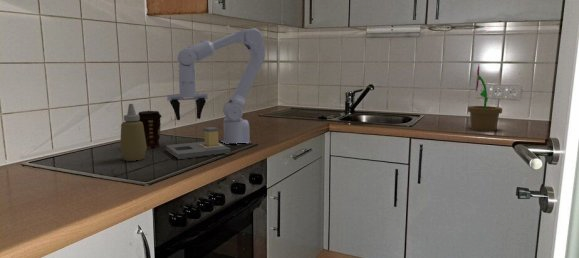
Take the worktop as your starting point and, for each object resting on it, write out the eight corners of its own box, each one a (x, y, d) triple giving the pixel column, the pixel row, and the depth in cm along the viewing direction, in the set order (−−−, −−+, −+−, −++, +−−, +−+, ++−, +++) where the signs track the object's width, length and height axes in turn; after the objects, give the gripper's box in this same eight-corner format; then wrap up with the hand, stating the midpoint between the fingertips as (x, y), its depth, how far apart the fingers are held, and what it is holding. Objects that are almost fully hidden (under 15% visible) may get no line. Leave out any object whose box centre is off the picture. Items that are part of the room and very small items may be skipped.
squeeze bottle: (150, 156, 139) (147, 102, 136) (143, 162, 131) (139, 105, 128) (126, 156, 139) (122, 102, 136) (117, 162, 131) (113, 105, 128)
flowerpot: (467, 126, 203) (471, 63, 198) (500, 128, 197) (505, 64, 192) (465, 130, 190) (470, 64, 186) (500, 133, 184) (506, 64, 179)
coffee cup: (155, 143, 160) (153, 109, 158) (167, 146, 155) (166, 111, 153) (134, 147, 154) (132, 111, 152) (146, 150, 149) (144, 113, 146)
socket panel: (214, 145, 156) (214, 139, 156) (230, 154, 143) (230, 147, 142) (165, 150, 147) (165, 144, 147) (178, 160, 134) (177, 153, 133)
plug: (214, 149, 150) (213, 126, 149) (219, 151, 147) (218, 128, 146) (204, 150, 148) (203, 127, 147) (209, 152, 145) (208, 129, 144)
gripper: (202, 81, 160) (204, 116, 162) (164, 82, 153) (166, 119, 155) (209, 82, 154) (210, 118, 156) (169, 83, 147) (171, 121, 149)
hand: (188, 119), depth 155 cm, fingers open, 7 cm apart
